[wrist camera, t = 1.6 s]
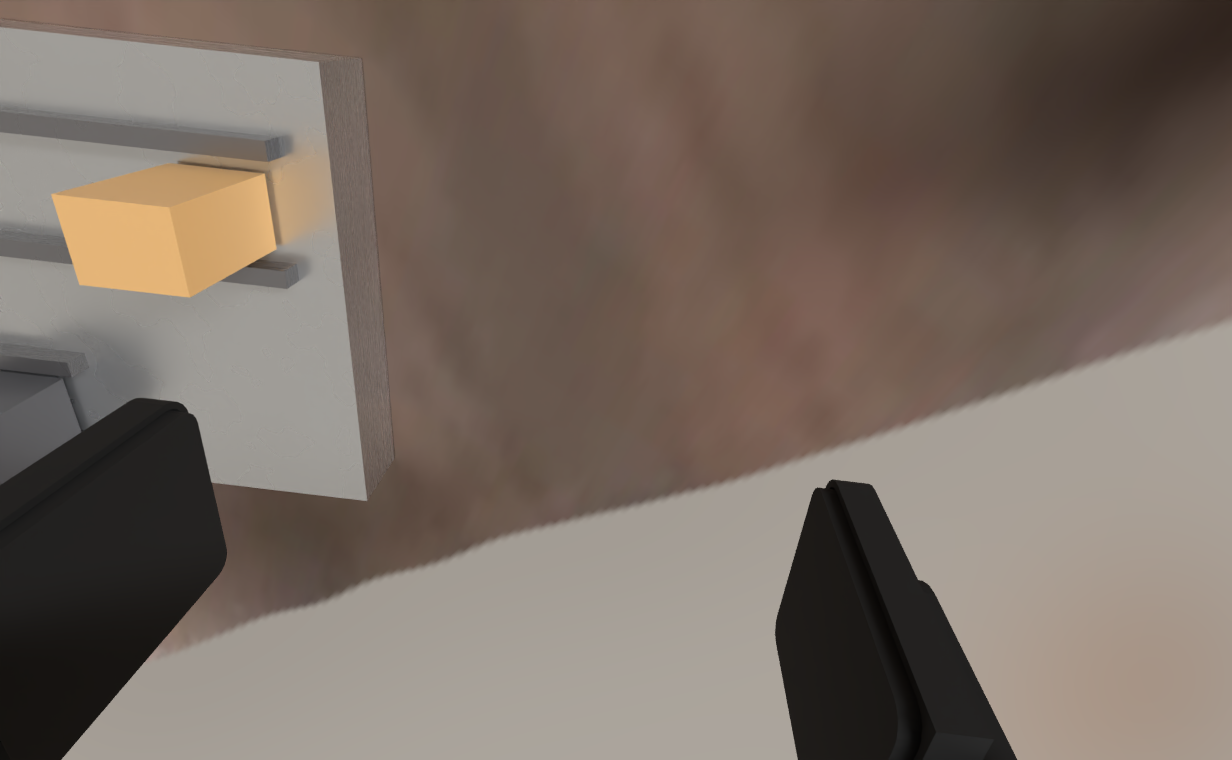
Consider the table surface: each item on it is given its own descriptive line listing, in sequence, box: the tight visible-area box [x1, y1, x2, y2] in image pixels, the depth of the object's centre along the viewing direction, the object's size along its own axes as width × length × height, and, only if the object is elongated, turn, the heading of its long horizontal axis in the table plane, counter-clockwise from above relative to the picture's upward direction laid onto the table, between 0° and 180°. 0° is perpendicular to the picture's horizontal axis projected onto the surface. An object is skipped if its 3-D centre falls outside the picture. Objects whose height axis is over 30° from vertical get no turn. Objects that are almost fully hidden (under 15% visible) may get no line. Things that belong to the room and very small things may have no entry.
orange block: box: [51, 163, 277, 298], centre depth 19 cm, size 2×3×4 cm
